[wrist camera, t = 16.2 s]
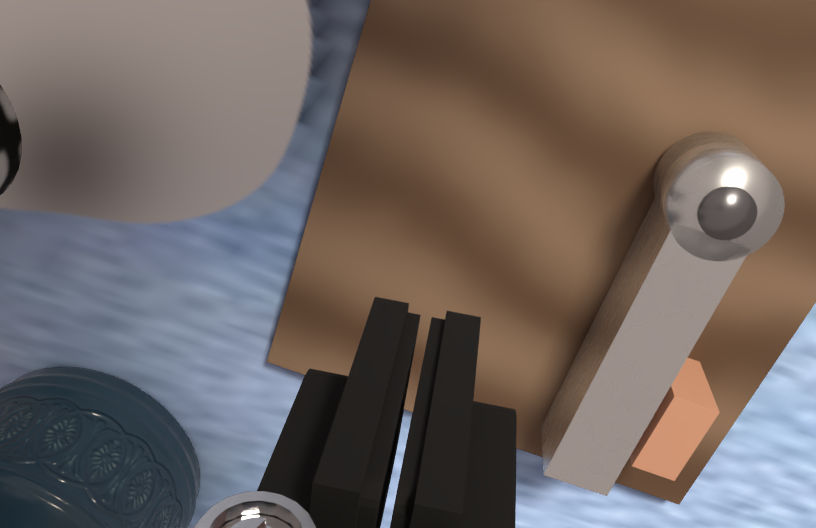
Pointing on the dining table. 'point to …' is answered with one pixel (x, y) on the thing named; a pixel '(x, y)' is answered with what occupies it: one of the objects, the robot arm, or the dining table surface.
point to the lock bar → (659, 303)
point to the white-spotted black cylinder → (8, 142)
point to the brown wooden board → (551, 186)
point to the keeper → (677, 424)
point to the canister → (91, 455)
